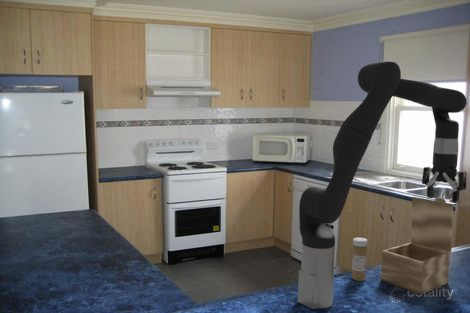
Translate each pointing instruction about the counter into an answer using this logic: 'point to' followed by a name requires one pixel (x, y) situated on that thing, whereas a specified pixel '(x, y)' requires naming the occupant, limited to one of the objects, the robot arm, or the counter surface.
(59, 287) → the counter surface
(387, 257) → the wooden box
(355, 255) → the sprinkles bottle
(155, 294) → the counter surface
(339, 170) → the robot arm
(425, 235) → the wooden box lid
